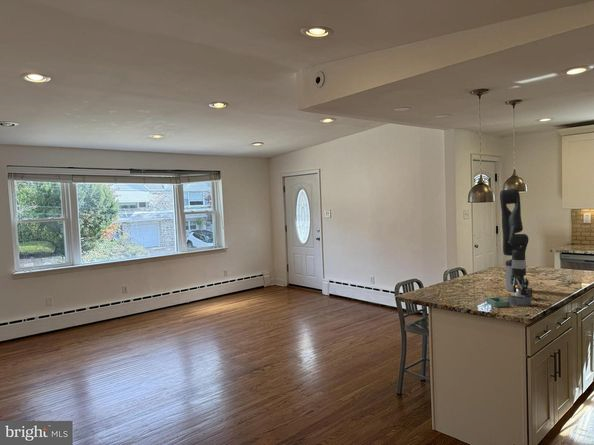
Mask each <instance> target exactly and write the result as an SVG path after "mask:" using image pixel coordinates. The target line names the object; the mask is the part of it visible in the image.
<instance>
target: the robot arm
mask: <svg viewBox="0 0 594 445" xmlns="http://www.w3.org/2000/svg"><path fill="white" fill-rule="evenodd" d="M499 200H500V207H501V208H500V210H501V229H502V251H503V255H504V256H509V257H511V259H508V260H506V261H505V291H509V292H513V293H515V292H516V288H515V285H518V284H519V286H520V288H521V295H522V296H525V289H528V287H529V286H528V284H527V280H528V278H525V276H526V275H527V263H526V262H527V261H526V250H527V247H528V243H529V241H530V240H529V236H528V235H527V234H525V233H521V232H522V231H523V230H524V228H523V221H522V214H521V213H522V211H521V210H522V209H521V206H522V205H521V195H520V191H519V189H517V188H509V189H503V190H500V193H499ZM511 204H514V207H513V209H512V211H511V210H510V209H509V208H508V205H511ZM525 285H526V287H525Z"/></svg>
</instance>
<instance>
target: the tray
mask: <svg viewBox="0 0 594 445" xmlns="http://www.w3.org/2000/svg"><path fill="white" fill-rule="evenodd" d="M486 303H487V304H488V305H491V307H494V308H510V303H509V302H508V300H506V299H504V298H501V297H486Z"/></svg>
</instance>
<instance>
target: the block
mask: <svg viewBox="0 0 594 445" xmlns="http://www.w3.org/2000/svg"><path fill="white" fill-rule="evenodd" d="M507 301H508V302H509V305H513V306H515V307H526V306H527V307H528V306H532V298H531V299H530V298H528V297H525V296H522V298H517V296H515V295H508V296H507Z"/></svg>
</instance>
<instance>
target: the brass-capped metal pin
mask: <svg viewBox="0 0 594 445" xmlns="http://www.w3.org/2000/svg"><path fill="white" fill-rule="evenodd" d="M515 288H516V296H517V298H522V295H521V288H520V286H519V285H515Z"/></svg>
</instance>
